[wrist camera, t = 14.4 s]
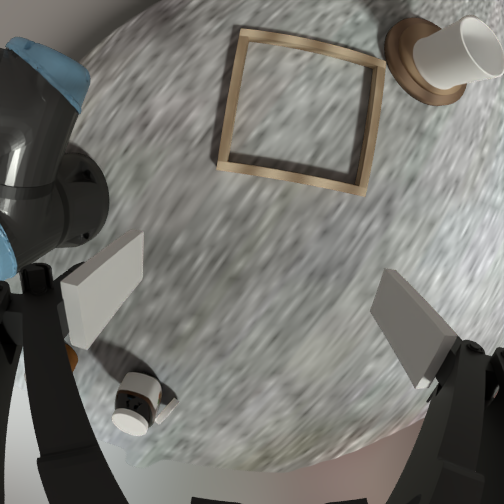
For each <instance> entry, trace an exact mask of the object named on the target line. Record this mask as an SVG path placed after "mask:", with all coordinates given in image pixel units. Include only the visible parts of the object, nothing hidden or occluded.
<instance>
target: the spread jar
mask: <svg viewBox="0 0 504 504" xmlns="http://www.w3.org/2000/svg"><path fill="white" fill-rule="evenodd" d="M161 398H162V385H161V383H160V381H159V380H158V379H157V378H155V377H154V376H152V375H150V374H148V373H145V372H139V371H132V372H128V373H127V374H126V375H125V377H124V379H123V381H122V383H121V385H120V386H119V389H118V391H117V394H116V398H115V411H114V413H113V415H112V421H113V423H114V424H115V426H116V427H118V428H119V429H120V430H122V431H123V432H125V433H128V434H130V435H134V436H142V435H145V434H146V432H147V429H148V428H149V427H151V426H152V425H153V423H154V421H155V422H156V423H157V424H159V425H160V424H161V423H162V422H163V421H164V419H165V418H166V417H167V416H168V415H169V414H170V413H171V412H172V410H173V409H174V408H175V407H176V406H177V405H178V403H179V401H178V400H177V399H175V398H174V399H173V400H172V401H171V402H170V403H169V404H168V405H167V406H166V407H165V408H164V409H163V411H162V412H161V413H160V414H159V415H158V416H157V418H156V415H157V412H158V409H159V406H160V403H161ZM155 418H156V419H155Z"/></svg>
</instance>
